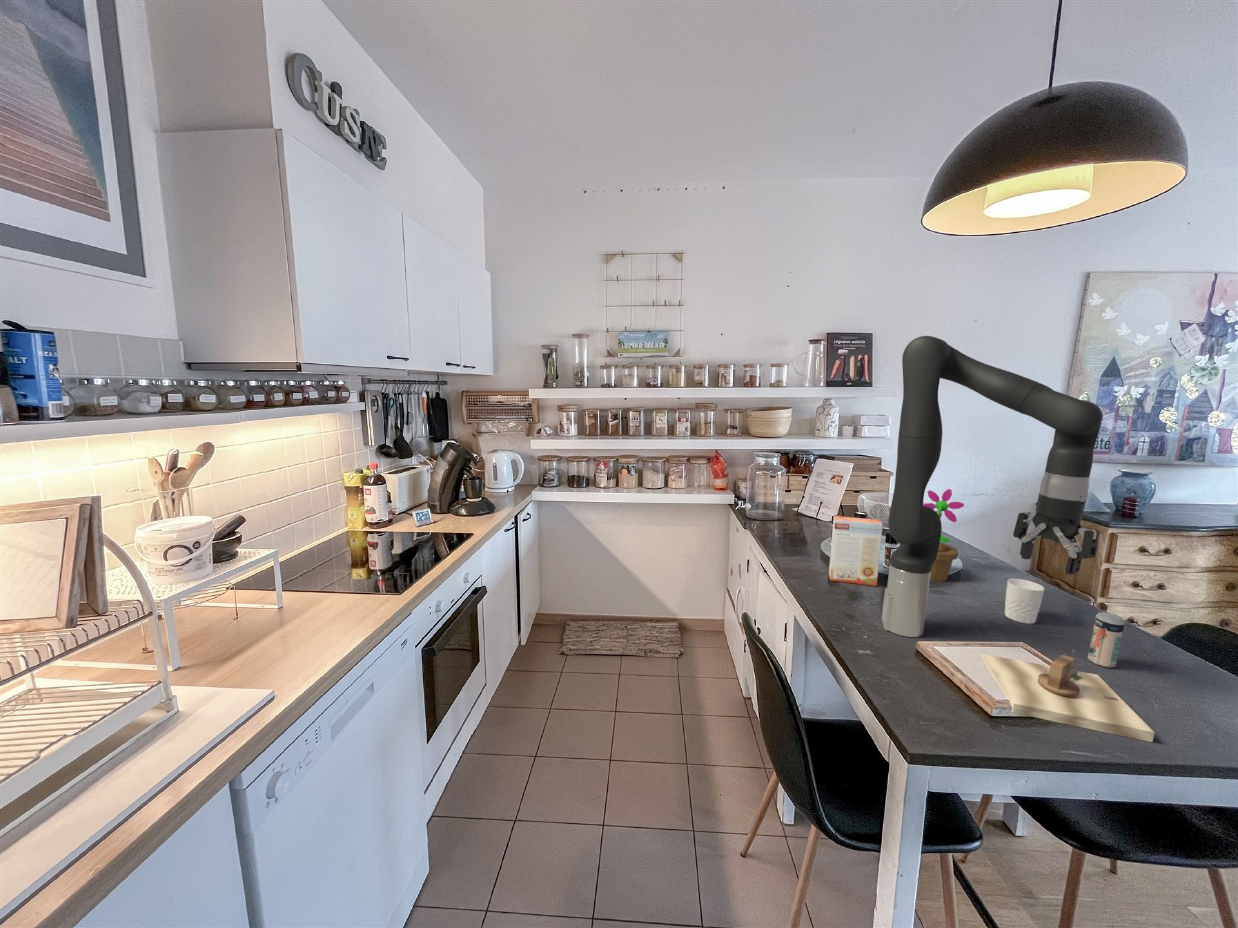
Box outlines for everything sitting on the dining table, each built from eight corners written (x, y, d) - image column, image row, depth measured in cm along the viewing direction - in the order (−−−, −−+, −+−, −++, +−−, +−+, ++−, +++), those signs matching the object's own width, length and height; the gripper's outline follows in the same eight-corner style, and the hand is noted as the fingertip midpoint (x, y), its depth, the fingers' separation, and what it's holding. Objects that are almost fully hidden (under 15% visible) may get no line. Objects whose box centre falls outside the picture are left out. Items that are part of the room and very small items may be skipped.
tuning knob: (1071, 700, 96) (1077, 673, 95) (1032, 683, 101) (1036, 656, 100) (1094, 682, 102) (1100, 656, 101) (1056, 666, 107) (1061, 642, 106)
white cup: (1039, 617, 135) (1045, 584, 133) (1037, 627, 129) (1043, 593, 128) (1003, 608, 140) (1008, 576, 139) (1000, 617, 135) (1006, 584, 133)
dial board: (1012, 712, 96) (1014, 702, 95) (980, 661, 113) (982, 653, 113) (1152, 742, 88) (1154, 731, 88) (1095, 682, 106) (1097, 673, 105)
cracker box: (873, 579, 160) (880, 518, 156) (876, 587, 154) (884, 524, 150) (827, 573, 164) (833, 514, 160) (829, 580, 158) (835, 519, 155)
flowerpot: (960, 576, 163) (972, 490, 158) (947, 588, 154) (960, 497, 149) (913, 564, 174) (923, 483, 169) (898, 574, 165) (908, 488, 159)
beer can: (1086, 654, 117) (1095, 608, 115) (1113, 662, 114) (1123, 615, 112) (1088, 663, 113) (1097, 616, 111) (1117, 671, 110) (1127, 622, 108)
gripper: (1014, 487, 108) (1001, 555, 111) (1091, 504, 95) (1074, 581, 98) (1037, 486, 111) (1023, 552, 114) (1115, 502, 97) (1098, 577, 101)
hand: (1047, 566), depth 106 cm, fingers open, 8 cm apart
